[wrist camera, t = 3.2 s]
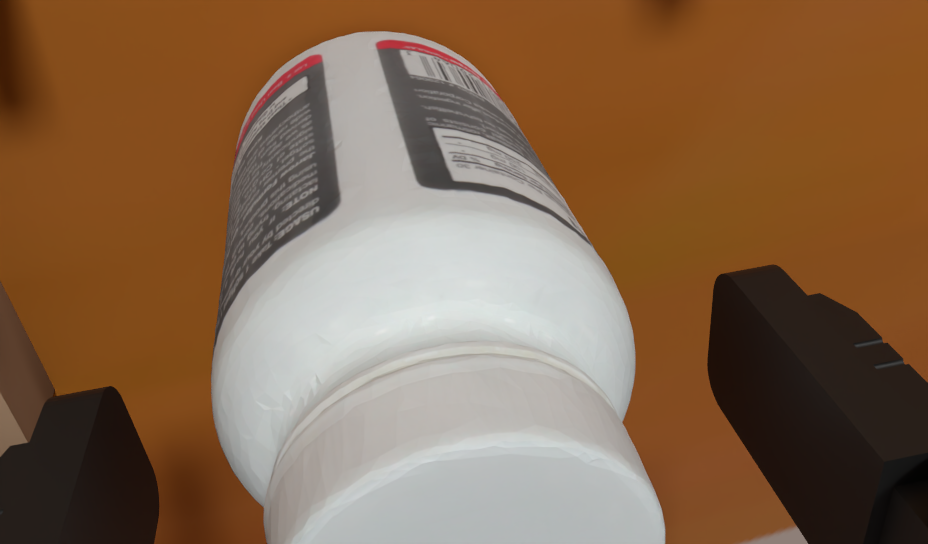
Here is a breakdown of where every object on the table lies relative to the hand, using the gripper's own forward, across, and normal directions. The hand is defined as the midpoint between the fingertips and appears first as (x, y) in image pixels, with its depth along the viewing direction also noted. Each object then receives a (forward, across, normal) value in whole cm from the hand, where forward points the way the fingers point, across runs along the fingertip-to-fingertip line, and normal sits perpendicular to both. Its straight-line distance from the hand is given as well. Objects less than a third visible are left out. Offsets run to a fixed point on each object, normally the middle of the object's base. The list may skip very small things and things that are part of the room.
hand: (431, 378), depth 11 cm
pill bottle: (+6, 0, 0) cm, 6 cm away
